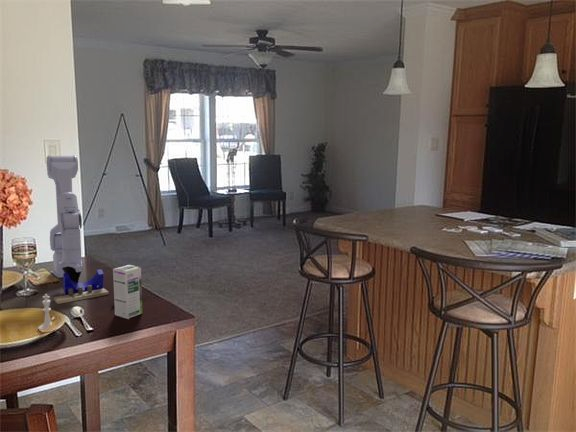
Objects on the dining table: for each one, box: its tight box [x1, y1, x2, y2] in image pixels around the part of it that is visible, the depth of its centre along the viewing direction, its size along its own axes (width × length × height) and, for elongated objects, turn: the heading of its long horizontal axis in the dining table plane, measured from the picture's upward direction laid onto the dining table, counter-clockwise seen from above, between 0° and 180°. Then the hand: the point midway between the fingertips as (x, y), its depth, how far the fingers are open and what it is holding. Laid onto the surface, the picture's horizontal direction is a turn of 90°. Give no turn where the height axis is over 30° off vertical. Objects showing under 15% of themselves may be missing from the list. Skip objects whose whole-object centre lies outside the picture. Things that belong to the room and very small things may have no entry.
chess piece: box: [37, 293, 53, 330], centre depth 140 cm, size 5×5×10 cm
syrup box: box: [112, 264, 143, 320], centre depth 152 cm, size 6×6×14 cm
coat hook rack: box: [53, 285, 110, 305], centre depth 167 cm, size 4×16×3 cm, turn 130°
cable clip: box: [62, 268, 104, 295], centre depth 171 cm, size 12×4×6 cm, turn 122°
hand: (73, 287), depth 173 cm, fingers closed
